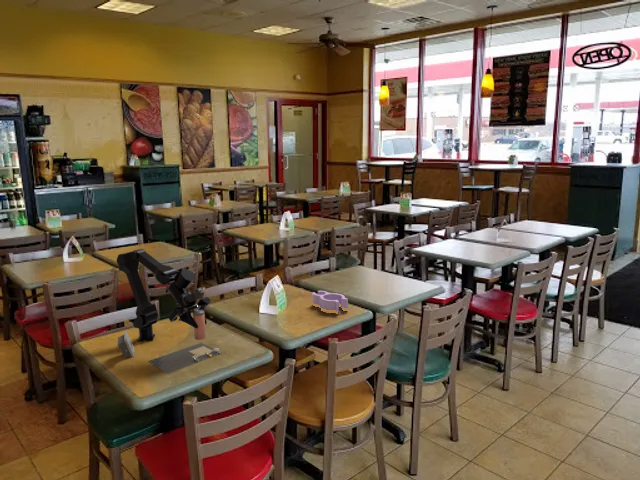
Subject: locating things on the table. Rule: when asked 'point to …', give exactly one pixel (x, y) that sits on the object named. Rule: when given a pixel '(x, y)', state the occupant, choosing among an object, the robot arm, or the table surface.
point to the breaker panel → (185, 357)
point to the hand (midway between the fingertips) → (201, 326)
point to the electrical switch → (126, 345)
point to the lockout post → (199, 324)
